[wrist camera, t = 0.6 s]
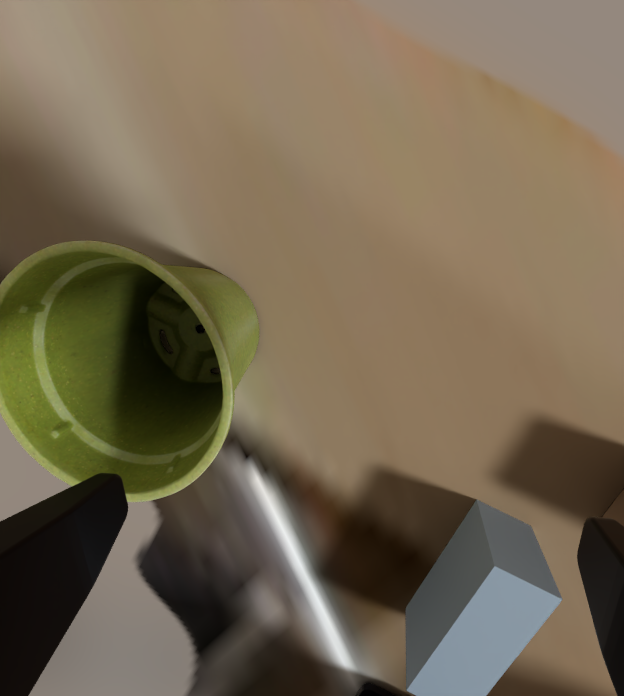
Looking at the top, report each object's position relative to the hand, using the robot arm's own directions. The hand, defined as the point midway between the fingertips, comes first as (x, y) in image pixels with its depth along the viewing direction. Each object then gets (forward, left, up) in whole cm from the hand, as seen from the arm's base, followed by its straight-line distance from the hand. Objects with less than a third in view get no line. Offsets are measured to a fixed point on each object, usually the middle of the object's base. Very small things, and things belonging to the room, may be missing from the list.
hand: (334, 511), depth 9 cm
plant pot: (-3, +8, -15) cm, 17 cm away
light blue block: (-9, -10, -15) cm, 20 cm away
